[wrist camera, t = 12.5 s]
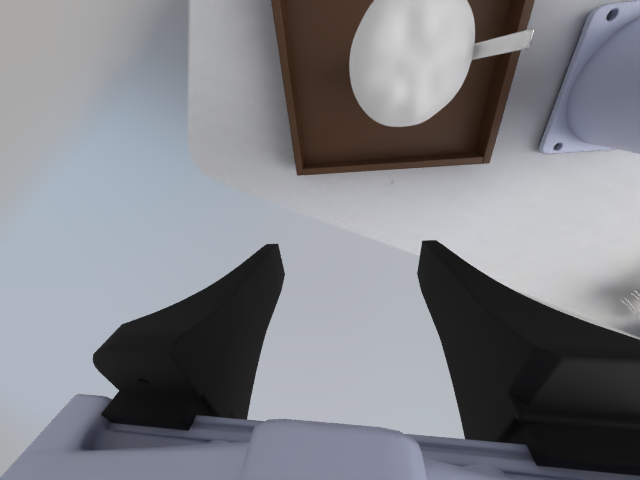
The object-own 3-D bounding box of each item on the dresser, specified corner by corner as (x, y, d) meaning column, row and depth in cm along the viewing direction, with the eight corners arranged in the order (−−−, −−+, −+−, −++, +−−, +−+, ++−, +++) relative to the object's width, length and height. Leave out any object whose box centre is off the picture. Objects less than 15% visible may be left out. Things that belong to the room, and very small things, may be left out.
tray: (536, -85, 12) (566, -114, 10) (476, 156, 18) (489, 163, 17) (273, -34, 14) (263, -51, 12) (301, 168, 20) (297, 175, 19)
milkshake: (427, 107, 16) (508, 124, 8) (350, 116, 17) (351, 139, 9) (437, 21, 14) (566, -83, 6) (348, 36, 15) (345, -37, 6)
